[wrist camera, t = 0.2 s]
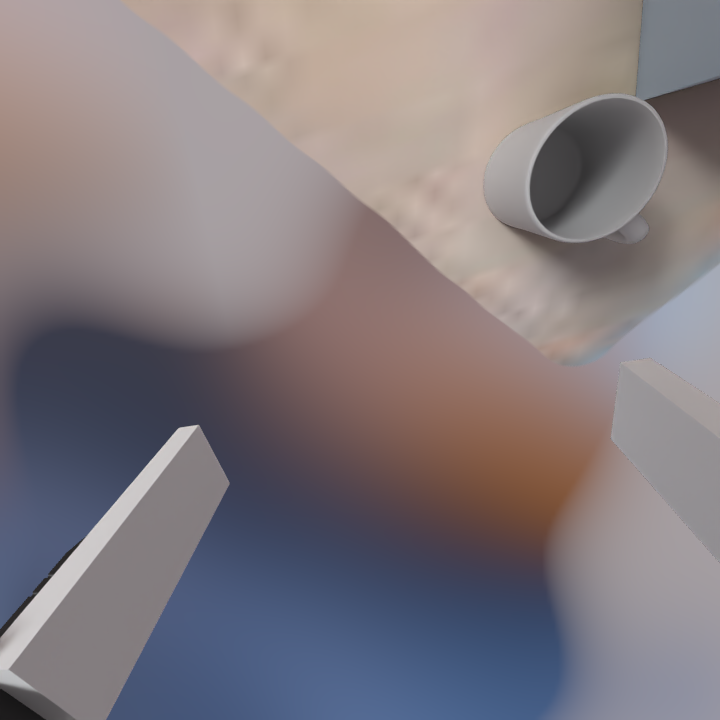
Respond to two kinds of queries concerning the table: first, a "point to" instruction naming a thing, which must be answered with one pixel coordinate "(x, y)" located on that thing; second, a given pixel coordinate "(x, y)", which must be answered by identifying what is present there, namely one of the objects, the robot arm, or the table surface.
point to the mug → (580, 171)
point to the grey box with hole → (678, 46)
